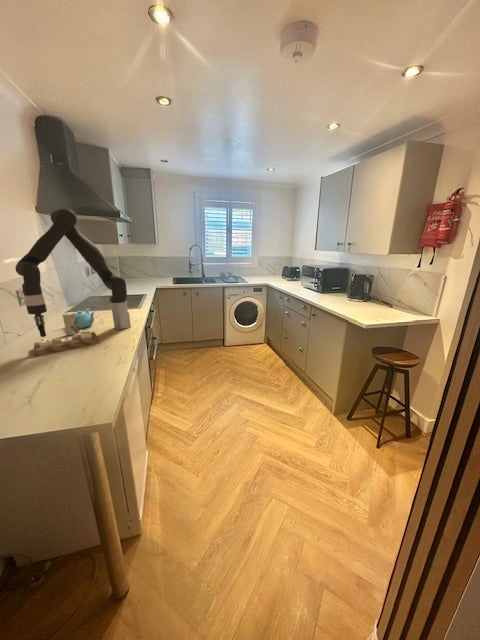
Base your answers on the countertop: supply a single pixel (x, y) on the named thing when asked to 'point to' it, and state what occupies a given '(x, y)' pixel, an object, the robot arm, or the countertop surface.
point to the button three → (85, 335)
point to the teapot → (84, 319)
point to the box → (70, 323)
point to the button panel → (65, 344)
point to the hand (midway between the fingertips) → (43, 336)
